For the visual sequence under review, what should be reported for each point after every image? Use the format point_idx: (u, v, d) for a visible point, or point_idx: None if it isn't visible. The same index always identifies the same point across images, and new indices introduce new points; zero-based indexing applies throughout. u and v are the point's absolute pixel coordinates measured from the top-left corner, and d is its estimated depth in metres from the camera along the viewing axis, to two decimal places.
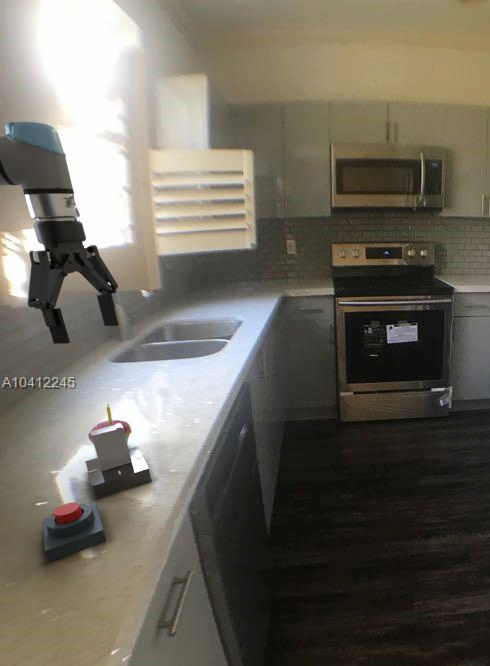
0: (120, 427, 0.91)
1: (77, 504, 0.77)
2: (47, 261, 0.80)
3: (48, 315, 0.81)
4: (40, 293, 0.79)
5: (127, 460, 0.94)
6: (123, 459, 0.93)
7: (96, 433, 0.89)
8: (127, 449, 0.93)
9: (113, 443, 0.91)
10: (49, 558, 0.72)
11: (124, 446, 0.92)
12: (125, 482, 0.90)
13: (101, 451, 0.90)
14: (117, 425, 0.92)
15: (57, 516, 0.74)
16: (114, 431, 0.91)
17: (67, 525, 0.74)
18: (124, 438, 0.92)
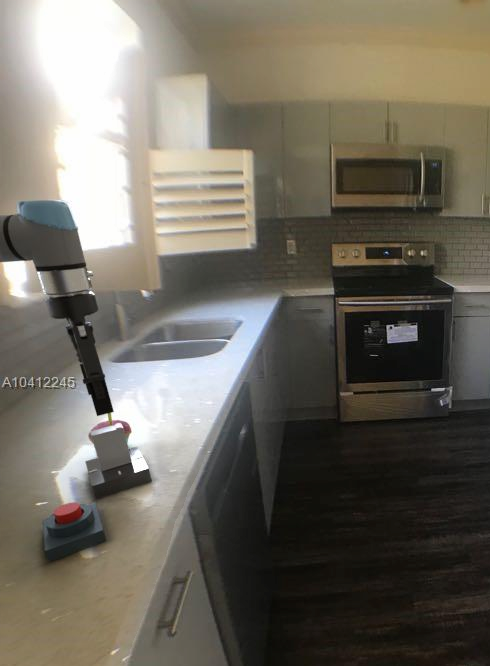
0: (120, 427, 0.91)
1: (77, 504, 0.77)
2: None
3: (101, 387, 0.81)
4: (100, 366, 0.79)
5: (127, 460, 0.94)
6: (123, 459, 0.93)
7: (96, 433, 0.89)
8: (127, 449, 0.93)
9: (113, 443, 0.91)
10: (49, 558, 0.72)
11: (124, 446, 0.92)
12: (125, 482, 0.90)
13: (101, 451, 0.90)
14: (117, 425, 0.92)
15: (57, 516, 0.74)
16: (114, 431, 0.91)
17: (67, 525, 0.74)
18: (124, 438, 0.92)
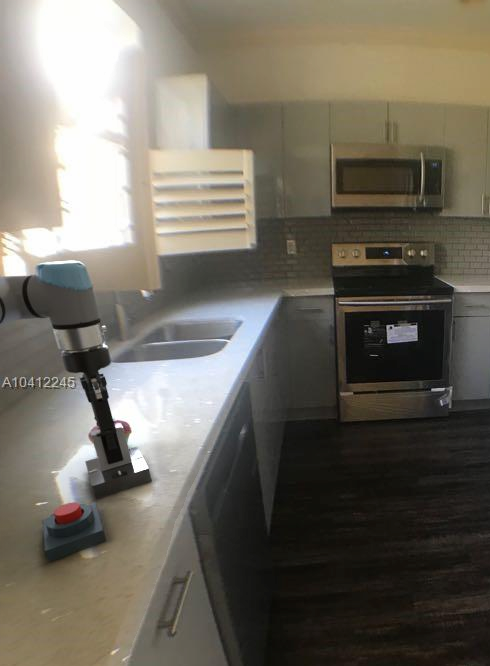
0: (120, 427, 0.91)
1: (77, 504, 0.77)
2: None
3: (112, 439, 0.89)
4: (113, 423, 0.87)
5: (127, 460, 0.94)
6: None
7: None
8: (127, 449, 0.93)
9: None
10: (49, 558, 0.72)
11: (124, 446, 0.92)
12: (125, 482, 0.90)
13: (101, 451, 0.90)
14: (117, 425, 0.92)
15: (57, 516, 0.74)
16: None
17: (67, 525, 0.74)
18: (124, 438, 0.92)
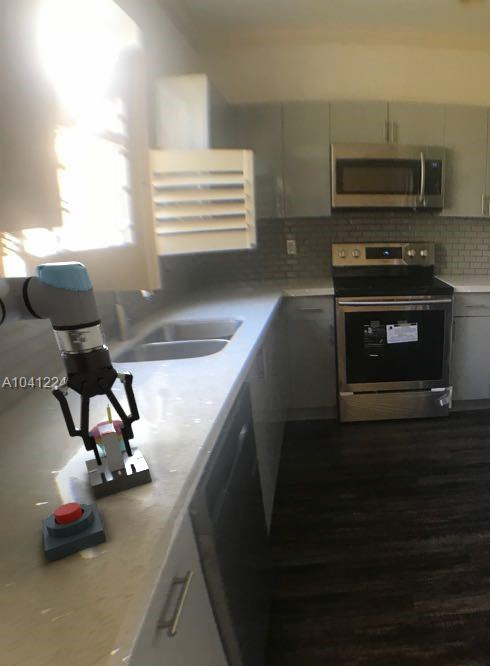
0: (102, 435, 0.88)
1: (77, 504, 0.77)
2: (62, 396, 0.84)
3: (83, 441, 0.89)
4: (67, 426, 0.86)
5: None
6: None
7: (101, 427, 0.92)
8: (107, 457, 0.90)
9: None
10: (49, 558, 0.72)
11: (105, 453, 0.90)
12: (125, 482, 0.90)
13: None
14: (107, 431, 0.89)
15: (57, 516, 0.74)
16: (100, 434, 0.89)
17: (67, 525, 0.74)
18: (103, 446, 0.89)
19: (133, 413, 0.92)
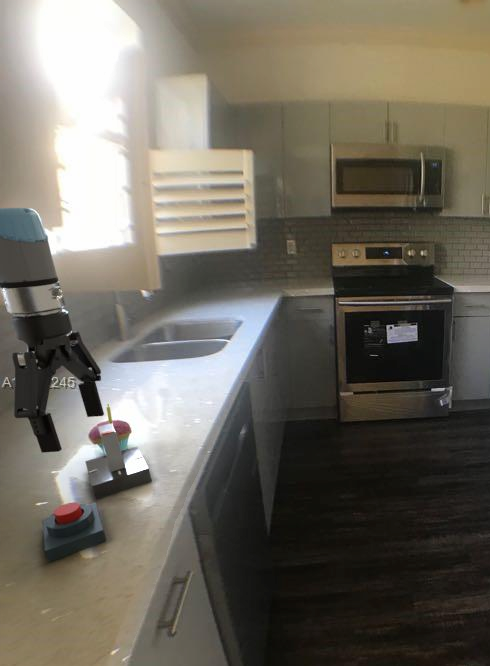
0: (102, 435, 0.88)
1: (77, 504, 0.77)
2: (34, 363, 0.69)
3: (38, 424, 0.70)
4: (30, 402, 0.68)
5: None
6: None
7: (101, 427, 0.92)
8: (107, 457, 0.90)
9: None
10: (49, 558, 0.72)
11: (105, 453, 0.90)
12: (125, 482, 0.90)
13: None
14: (107, 431, 0.89)
15: (57, 516, 0.74)
16: (100, 434, 0.89)
17: (67, 525, 0.74)
18: (103, 446, 0.89)
19: (95, 368, 0.85)
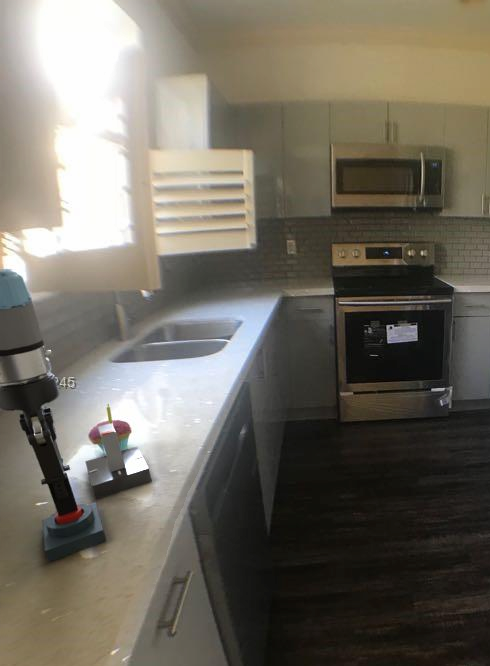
0: (102, 435, 0.88)
1: (78, 507, 0.77)
2: (50, 436, 0.68)
3: (62, 486, 0.73)
4: (61, 469, 0.70)
5: None
6: None
7: (101, 427, 0.92)
8: (107, 457, 0.90)
9: None
10: (49, 558, 0.72)
11: (105, 453, 0.90)
12: (125, 482, 0.90)
13: None
14: (107, 431, 0.89)
15: (58, 519, 0.75)
16: (100, 434, 0.89)
17: (67, 525, 0.74)
18: (103, 446, 0.89)
19: (59, 454, 0.76)
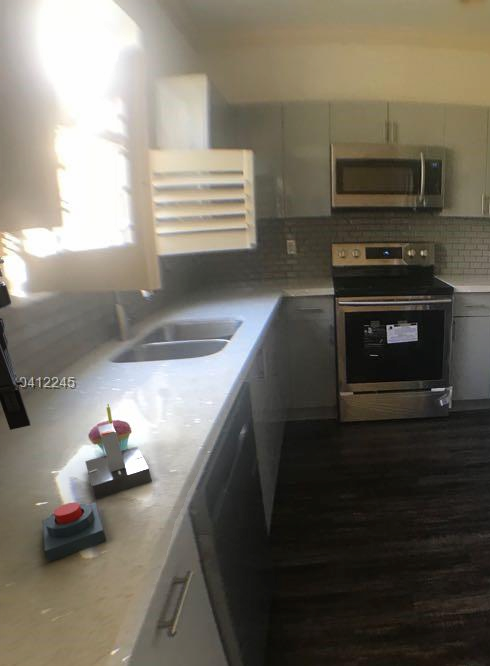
0: (102, 435, 0.88)
1: (77, 504, 0.77)
2: None
3: (13, 398, 0.73)
4: (10, 379, 0.70)
5: None
6: None
7: (101, 427, 0.92)
8: (107, 457, 0.90)
9: None
10: (49, 558, 0.72)
11: (105, 453, 0.90)
12: (125, 482, 0.90)
13: None
14: (107, 431, 0.89)
15: (57, 516, 0.74)
16: (100, 434, 0.89)
17: (67, 525, 0.74)
18: (103, 446, 0.89)
19: (13, 369, 0.76)
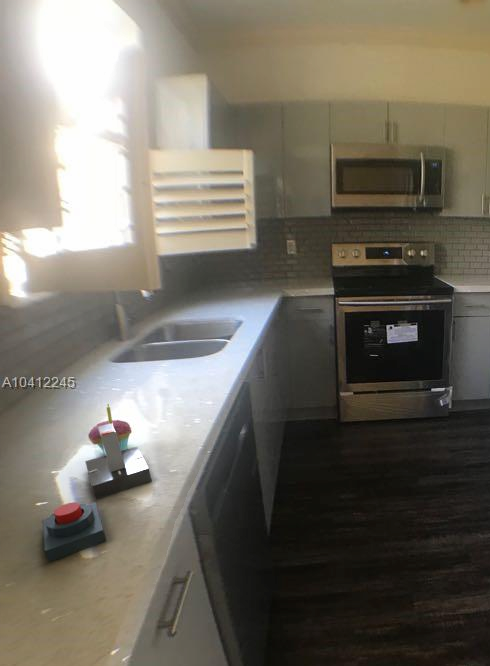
0: (102, 435, 0.88)
1: (77, 504, 0.77)
2: None
3: None
4: None
5: None
6: None
7: (101, 427, 0.92)
8: (107, 457, 0.90)
9: None
10: (49, 558, 0.72)
11: (105, 453, 0.90)
12: (125, 482, 0.90)
13: None
14: (107, 431, 0.89)
15: (57, 516, 0.74)
16: (100, 434, 0.89)
17: (67, 525, 0.74)
18: (103, 446, 0.89)
19: None
